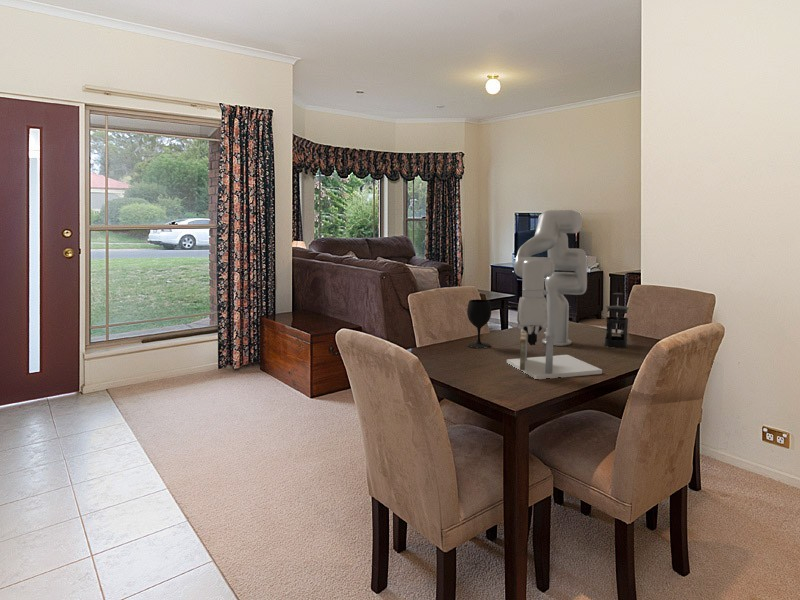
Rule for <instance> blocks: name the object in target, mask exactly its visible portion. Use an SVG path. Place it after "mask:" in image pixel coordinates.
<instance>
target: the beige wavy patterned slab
mask: <svg viewBox="0 0 800 600" xmlns="http://www.w3.org/2000/svg"><path fill="white" fill-rule="evenodd" d="M519 340H520V341H519V342H520V344H519V345H520V347H519V348H520V352H519V353H520V354H519V358H520V370H523V371H525V343H526V331H522V332H521V331H520V339H519Z"/></svg>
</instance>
